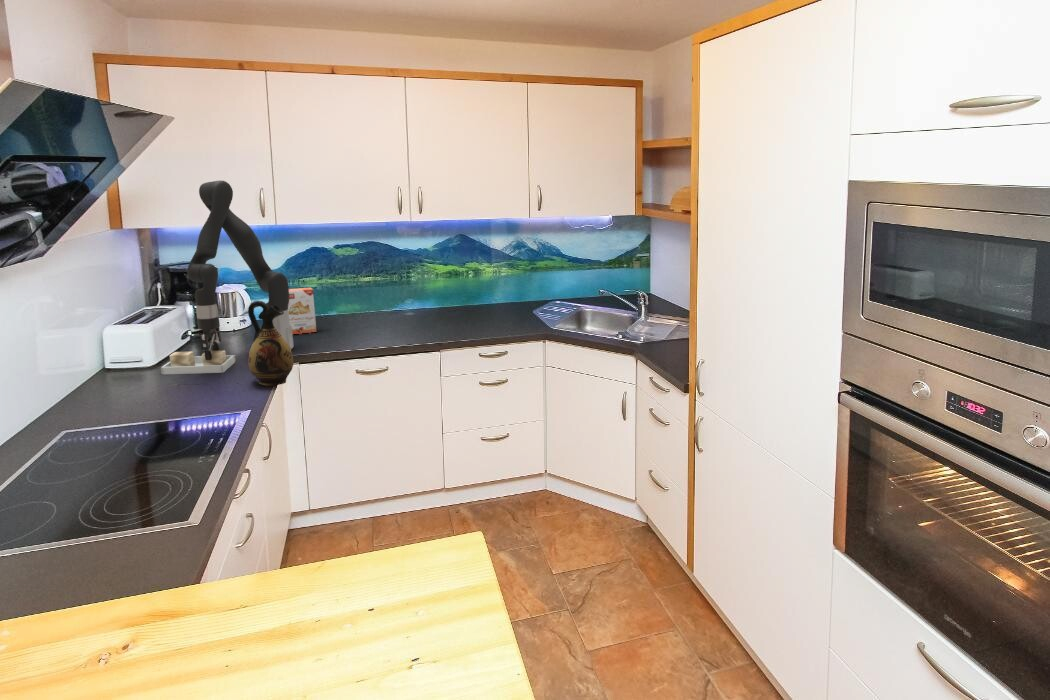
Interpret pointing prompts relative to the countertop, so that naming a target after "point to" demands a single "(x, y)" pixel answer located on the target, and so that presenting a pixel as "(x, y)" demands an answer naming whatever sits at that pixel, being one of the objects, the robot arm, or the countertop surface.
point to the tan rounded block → (182, 359)
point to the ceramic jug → (268, 348)
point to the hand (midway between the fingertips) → (212, 357)
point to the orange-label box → (215, 358)
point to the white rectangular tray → (198, 367)
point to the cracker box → (301, 310)
